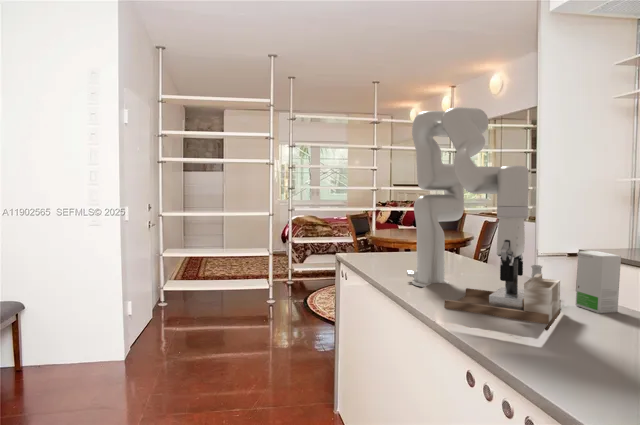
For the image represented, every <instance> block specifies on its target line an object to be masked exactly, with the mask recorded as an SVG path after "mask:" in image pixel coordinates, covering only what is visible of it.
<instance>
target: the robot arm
mask: <svg viewBox="0 0 640 425" xmlns="http://www.w3.org/2000/svg"><path fill="white" fill-rule="evenodd" d="M488 126H489V117H488V115H487V113H486V112H485V111H484V110H483V109H481V108H477V107H463V106H462V107H458V106H456V107H451V108H449V109H446V111H443V110H425V111H421V112H419V113H418V114H416V116H415V117H414V119H413V122H412V126H411V134H412V136H411V137H412V140H413V145H414V148H415V149H414V150H415V154H416V155H415V156H416V180H417V185H418V187H419V189H420V190H423V191H431V192H432V191H435V192H438V191H439V192H440V191H441V192H442V191H443V194H438V193H437V194H435V193H434V194H430V193H429V194H423V195H420V196H419V197H418V198H416V199H415V201H414V204H413V213H414V218H415V226H416V270H407V271H406V276H407V277H410V278H412V277H413V279H412V281H411V282H412V285H413V286H417V287H420V288H425V287H428V286H430V285H432V284H445V285H446V284H447V285H450V281H449V280H447V279H445V277H446V276H445V268H446V267H445V265H446V264H445V254H446V253H445V252H446V251H445V249H446V248H445V247H446V245H445V244H446V242H445V241H446V239H445V237H446V236H445V232H444V230H443V228H442V226H441V224H440V222H455V221H459V220H460V219H461V218H462V216H463V214H464V211H465V210H464V209H465V198H464V196H465V195H464V194H465V193H464V192H465V191H466V192H467V193H470V194H474V195H475V194H476V195H483V194H484V195H485V194H489V195H495V194H496V197H497V198H496V199H497V200H496V219H499V220H498V227H497V235H496V236H497V238H496V239H497V240H496V241H497V242H496V255H497V256H498V257H500V262H499V268H500V269H499V280H500V281H501V282H502V281H503V282H505V281H509V282H513V281H514V266H513V261H514V259H518V277H519V276H520V277H521V276H523V274H524V273H523V272H524V271H523V270H524V261H523V259H524V257H523V254H524V252H525V239H526V238H525V236H526V235H525V233H526V232H525V220H529V197H530V196H529V195H530V194H529V193H530V192H529V188H530V187H529V186H530V184H529V183H530V180H529V179H530V178H529V177H530V176H529V175H530V172H529V169H528V167H527V166H525V165H505V166H504V165H503V166H482V165H481V166H477V165H476V164H475V163H474V161H473V160H472V159H471V158H472V157H474V156H476V155H477V154H479V153H480V152H481V151H482V150H483V149H484V146H485V145H486V137H485V136H484V134H485V132H486V131H487V129H488ZM434 137H442V138H449V140H450V141H451V143H452V145H453V147H454V148H455V150H456V153H455V155H454V159H453V163H443V162H442V161H443V160H442V150H441V147H440V146H439V144H438V142H437V141H436V140H435V138H434ZM464 190H465V191H464Z"/></svg>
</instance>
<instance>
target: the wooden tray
mask: <svg viewBox="0 0 640 425" xmlns="http://www.w3.org/2000/svg"><path fill="white" fill-rule="evenodd" d="M523 285H524V286H523V290H524V311H523V310H516V309H509V308H502V307H495V306H489V295H491V294H492V293H494V292H495V291H493V290H484V289H476V288H470V287H469V288H468V287H467V288H465V295H463V296H462V297H460V298H459V299H457V300H453V299H444V309H450V310H457V311H461V312H468V313H475V314H482V315H487V316H488V315H489V316H492V317H493V316H494V317H495V316H496V317H501V318H508V319H514V320H520V321H526V322H532V323H537V324H538V323H539V324H545V325H546V326H545V328H544V329H545V330H544V331H548V330H550V328H551V327H552V325H553V324H554V322H555V321H556V320H555V319H557V318H558V317H559V315H560V314H561V302H562V301H561V280H560V279H551V278H543V273H542V274H536V275H535V276H533V277H532V278H531V277H530V278H529V279H528V280H527V281H526V282H524V283H523ZM550 326H551V327H550Z"/></svg>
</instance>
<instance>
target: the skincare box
mask: <svg viewBox="0 0 640 425" xmlns="http://www.w3.org/2000/svg"><path fill="white" fill-rule="evenodd" d="M577 253H578V254H577V270H576V271H577V272H576V274H577V275H576V290H575V291H576V293H575V306H576V307H580V308H582V309H585V310H588V311H591V312H594V313H597V314H609V313H618V312H619V310H618V309H619V296H620V295H619V294H620V292H619V291H620V281H621V280H620V278H621V265H622V264H621V262H622V256H621V255H618V254H614V253H608V252H603V251H598V250H587V251H581V250H580V251H578V252H577Z"/></svg>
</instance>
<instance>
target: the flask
mask: <svg viewBox="0 0 640 425" xmlns="http://www.w3.org/2000/svg"><path fill="white" fill-rule="evenodd" d="M530 267H531V276H530V279H531V278H532V277H533V276H535V275H536V274H542V275H543V273H542V269H543V265H540V264H531V265H530Z"/></svg>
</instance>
